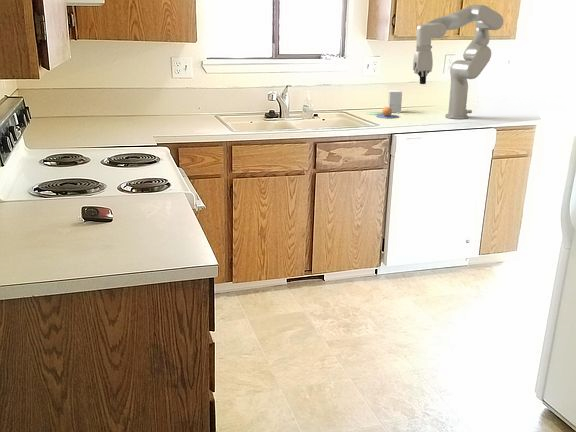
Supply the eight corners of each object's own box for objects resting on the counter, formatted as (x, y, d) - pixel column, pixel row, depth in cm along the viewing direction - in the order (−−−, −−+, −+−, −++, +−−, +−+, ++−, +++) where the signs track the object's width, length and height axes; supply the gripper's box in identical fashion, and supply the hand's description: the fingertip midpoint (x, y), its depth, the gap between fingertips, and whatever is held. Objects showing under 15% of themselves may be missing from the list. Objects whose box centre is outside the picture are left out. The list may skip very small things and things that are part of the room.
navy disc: (390, 114, 353) (390, 113, 353) (403, 117, 342) (403, 117, 342) (371, 115, 348) (371, 115, 348) (384, 119, 337) (384, 118, 337)
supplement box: (400, 111, 364) (401, 90, 360) (401, 113, 357) (402, 91, 353) (387, 111, 365) (388, 89, 361) (388, 112, 358) (389, 91, 354)
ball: (391, 117, 347) (386, 110, 349) (395, 111, 342) (390, 104, 344) (383, 119, 344) (379, 112, 346) (387, 113, 340) (382, 105, 342)
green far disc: (377, 111, 361) (377, 111, 361) (387, 114, 353) (387, 113, 353) (363, 112, 357) (363, 112, 357) (373, 115, 349) (373, 115, 349)
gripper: (430, 47, 324) (429, 81, 331) (407, 49, 318) (407, 84, 325) (439, 48, 318) (438, 83, 324) (416, 50, 312) (415, 86, 318)
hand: (422, 83), depth 325 cm, fingers closed
